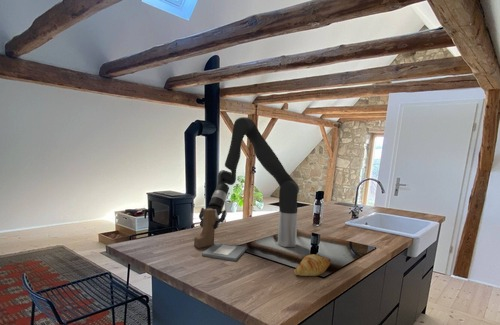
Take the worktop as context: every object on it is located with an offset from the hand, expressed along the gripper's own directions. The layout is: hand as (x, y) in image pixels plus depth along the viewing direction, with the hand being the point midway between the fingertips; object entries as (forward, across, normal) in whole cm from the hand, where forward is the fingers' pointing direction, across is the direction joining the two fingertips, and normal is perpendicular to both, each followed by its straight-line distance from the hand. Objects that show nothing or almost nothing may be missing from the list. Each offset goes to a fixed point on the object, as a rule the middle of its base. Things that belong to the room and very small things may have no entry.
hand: (207, 227), depth 142 cm
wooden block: (+7, -1, +6) cm, 9 cm away
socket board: (+11, +12, +2) cm, 16 cm away
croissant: (+14, +52, -1) cm, 54 cm away
